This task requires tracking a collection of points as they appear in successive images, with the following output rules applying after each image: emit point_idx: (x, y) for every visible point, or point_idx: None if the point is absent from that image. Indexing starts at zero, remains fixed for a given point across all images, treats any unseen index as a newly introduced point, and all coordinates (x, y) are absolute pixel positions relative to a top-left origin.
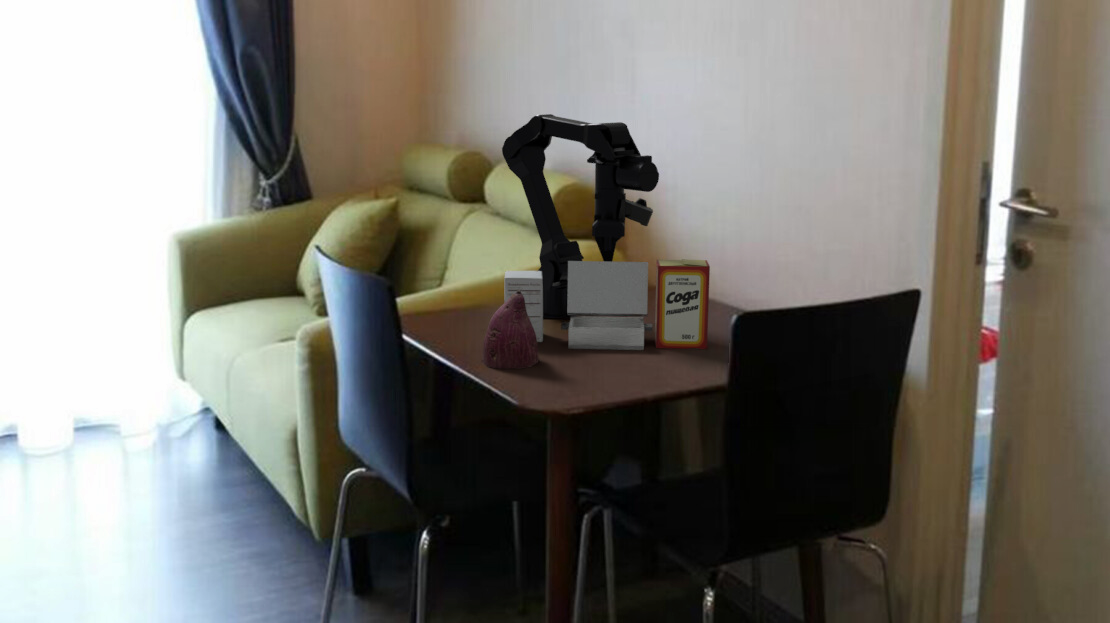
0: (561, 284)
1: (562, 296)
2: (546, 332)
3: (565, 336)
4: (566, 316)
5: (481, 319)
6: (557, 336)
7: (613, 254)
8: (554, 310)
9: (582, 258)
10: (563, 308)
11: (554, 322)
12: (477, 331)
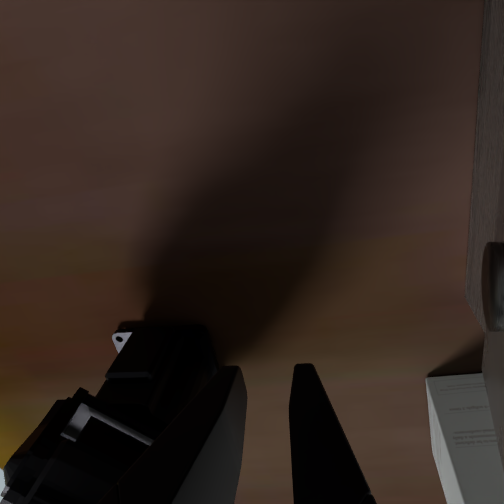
0: (147, 440)
1: (178, 400)
2: (406, 366)
3: (464, 311)
4: (206, 338)
5: (274, 497)
6: (464, 333)
7: (353, 458)
8: (205, 382)
9: (45, 499)
10: (187, 364)
11: (260, 357)
12: (411, 499)
